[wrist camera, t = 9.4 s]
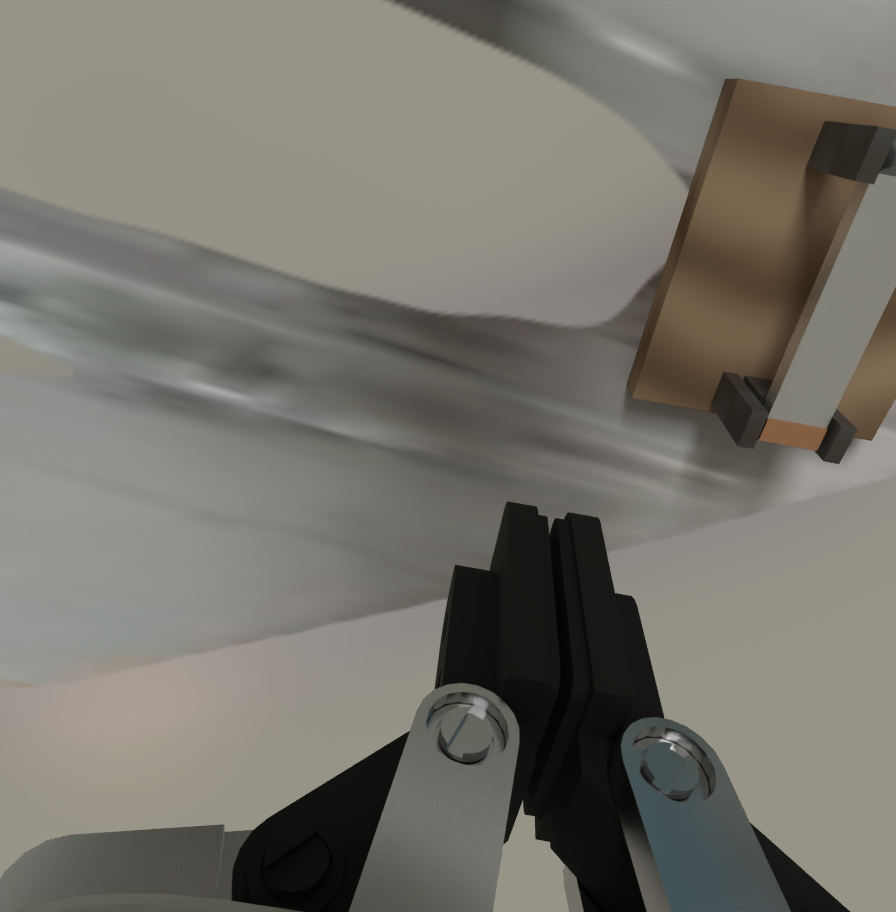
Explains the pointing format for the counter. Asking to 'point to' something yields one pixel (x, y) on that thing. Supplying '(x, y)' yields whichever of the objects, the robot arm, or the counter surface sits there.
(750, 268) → the clamp board
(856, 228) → the strap
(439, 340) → the counter surface
